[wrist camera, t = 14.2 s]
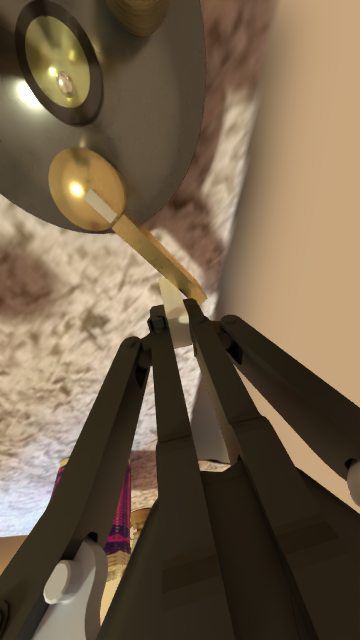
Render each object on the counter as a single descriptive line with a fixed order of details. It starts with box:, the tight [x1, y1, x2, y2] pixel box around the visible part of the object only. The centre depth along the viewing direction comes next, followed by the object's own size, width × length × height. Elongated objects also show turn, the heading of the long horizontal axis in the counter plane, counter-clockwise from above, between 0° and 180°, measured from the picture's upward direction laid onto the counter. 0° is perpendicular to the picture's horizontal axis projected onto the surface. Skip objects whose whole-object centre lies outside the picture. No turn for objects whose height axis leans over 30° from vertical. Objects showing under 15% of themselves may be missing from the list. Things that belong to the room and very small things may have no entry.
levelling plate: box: [0, 0, 206, 234], centre depth 12 cm, size 18×18×4 cm
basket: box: [51, 458, 131, 582], centre depth 36 cm, size 31×20×40 cm, turn 169°
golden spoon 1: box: [49, 147, 207, 305], centre depth 15 cm, size 13×4×5 cm, turn 43°
